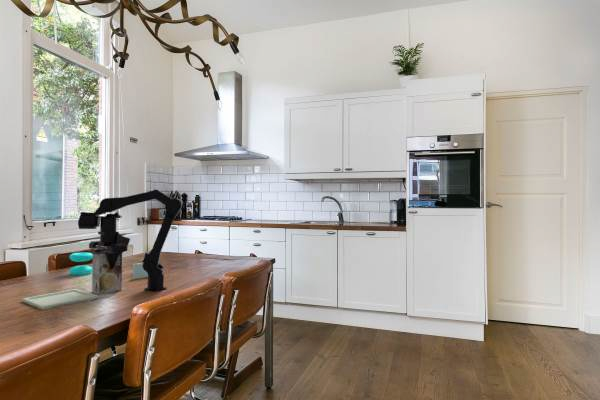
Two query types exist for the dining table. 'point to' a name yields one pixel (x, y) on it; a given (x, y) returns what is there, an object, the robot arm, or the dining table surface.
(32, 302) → the sage tray
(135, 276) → the right angle wall
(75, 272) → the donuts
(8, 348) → the dining table surface
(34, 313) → the dining table surface
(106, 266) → the coffee box
